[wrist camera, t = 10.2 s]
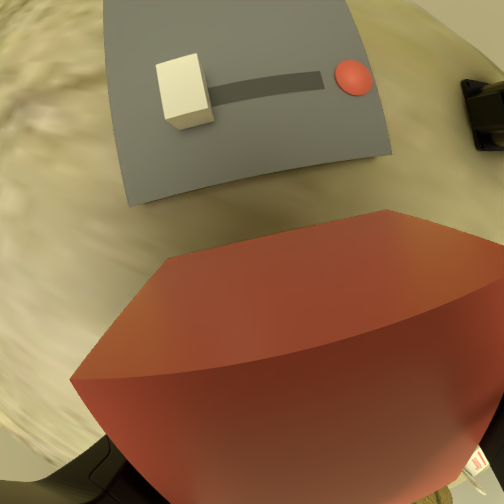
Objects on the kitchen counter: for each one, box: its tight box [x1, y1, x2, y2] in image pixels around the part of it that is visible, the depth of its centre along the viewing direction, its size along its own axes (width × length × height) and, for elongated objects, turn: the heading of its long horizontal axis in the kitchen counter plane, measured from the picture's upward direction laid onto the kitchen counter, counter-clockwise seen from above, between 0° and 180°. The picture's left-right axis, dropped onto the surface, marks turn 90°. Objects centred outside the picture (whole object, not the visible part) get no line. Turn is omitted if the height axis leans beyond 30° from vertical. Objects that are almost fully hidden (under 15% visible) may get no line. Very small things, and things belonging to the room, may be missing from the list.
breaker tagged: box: [156, 53, 214, 130], centre depth 13 cm, size 2×3×3 cm, turn 12°
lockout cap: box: [69, 210, 504, 504], centre depth 7 cm, size 7×7×6 cm
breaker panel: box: [103, 0, 392, 207], centre depth 14 cm, size 16×20×3 cm
